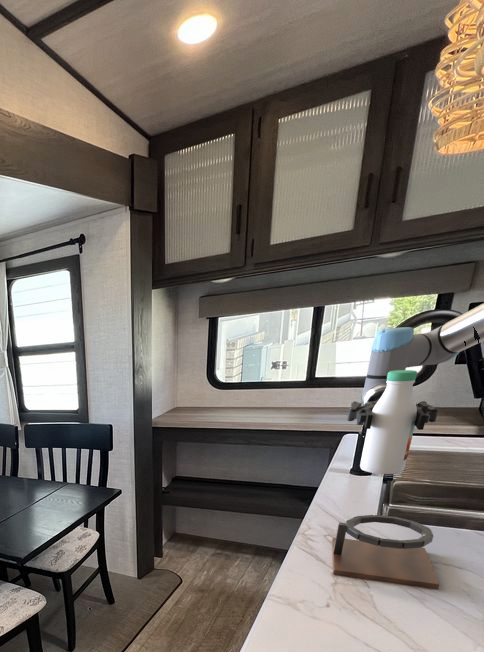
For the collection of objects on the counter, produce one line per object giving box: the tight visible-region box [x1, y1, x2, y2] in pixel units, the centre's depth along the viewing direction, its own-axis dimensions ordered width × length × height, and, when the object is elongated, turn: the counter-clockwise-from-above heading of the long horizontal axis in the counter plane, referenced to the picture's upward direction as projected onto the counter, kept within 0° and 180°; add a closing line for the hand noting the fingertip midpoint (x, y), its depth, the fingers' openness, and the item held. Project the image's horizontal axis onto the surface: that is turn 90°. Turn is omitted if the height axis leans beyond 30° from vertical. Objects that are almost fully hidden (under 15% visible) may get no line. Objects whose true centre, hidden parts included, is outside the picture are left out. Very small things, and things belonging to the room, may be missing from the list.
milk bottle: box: [359, 369, 418, 475], centre depth 95 cm, size 8×8×20 cm
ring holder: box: [331, 514, 441, 590], centre depth 91 cm, size 16×16×8 cm
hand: (395, 422), depth 91 cm, fingers closed on milk bottle, 8 cm apart
